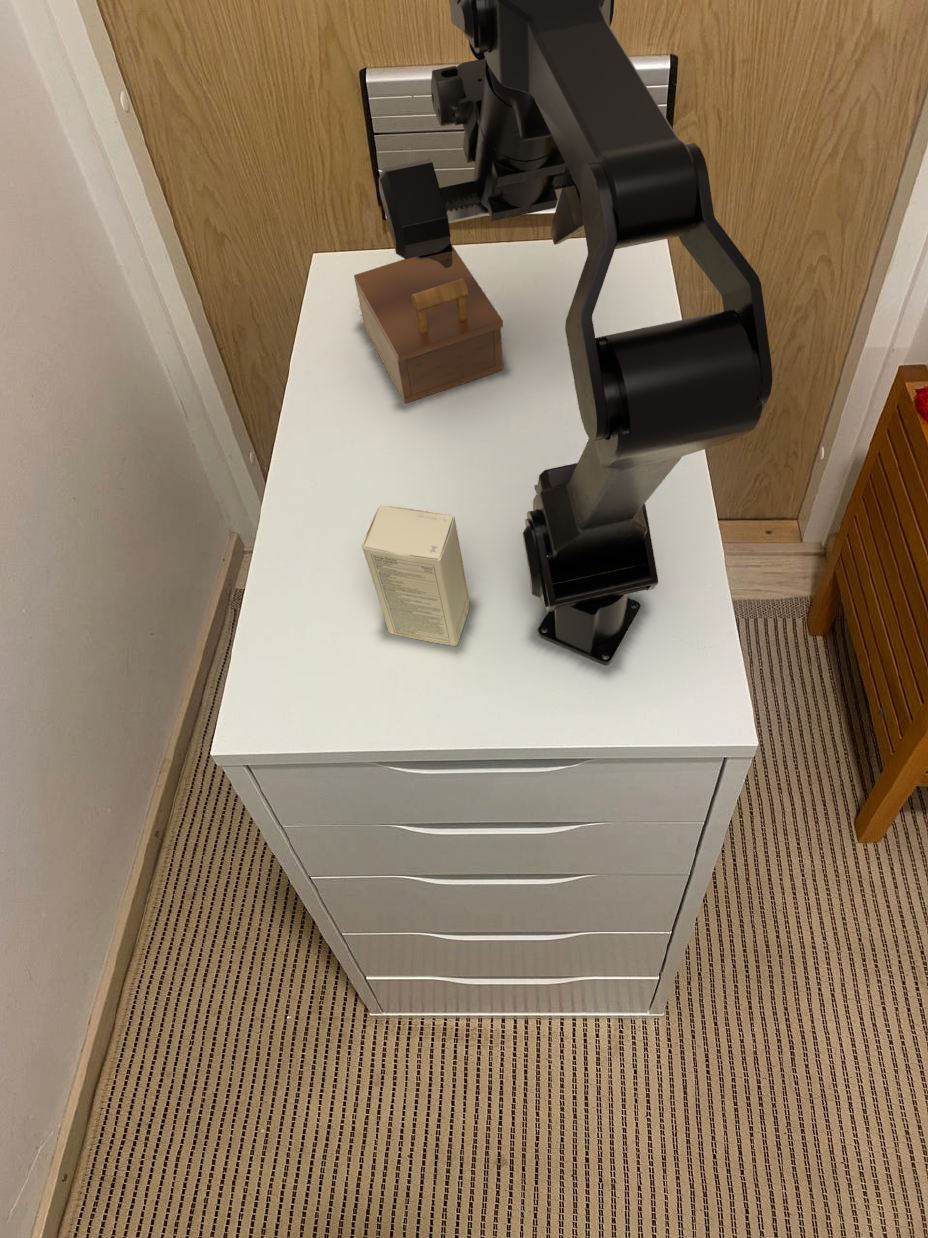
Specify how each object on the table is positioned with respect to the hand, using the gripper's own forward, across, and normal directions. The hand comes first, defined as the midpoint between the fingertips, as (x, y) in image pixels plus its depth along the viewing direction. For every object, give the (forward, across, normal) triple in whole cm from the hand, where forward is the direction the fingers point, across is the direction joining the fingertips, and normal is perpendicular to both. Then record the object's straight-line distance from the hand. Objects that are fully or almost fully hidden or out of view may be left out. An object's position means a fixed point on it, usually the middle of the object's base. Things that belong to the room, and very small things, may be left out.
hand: (500, 250), depth 78 cm
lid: (+15, +5, -5) cm, 17 cm away
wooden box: (+21, +5, -2) cm, 21 cm away
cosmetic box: (+7, +13, +27) cm, 31 cm away
